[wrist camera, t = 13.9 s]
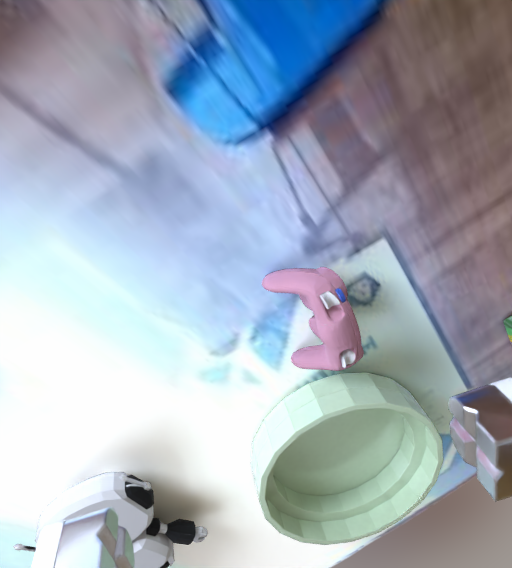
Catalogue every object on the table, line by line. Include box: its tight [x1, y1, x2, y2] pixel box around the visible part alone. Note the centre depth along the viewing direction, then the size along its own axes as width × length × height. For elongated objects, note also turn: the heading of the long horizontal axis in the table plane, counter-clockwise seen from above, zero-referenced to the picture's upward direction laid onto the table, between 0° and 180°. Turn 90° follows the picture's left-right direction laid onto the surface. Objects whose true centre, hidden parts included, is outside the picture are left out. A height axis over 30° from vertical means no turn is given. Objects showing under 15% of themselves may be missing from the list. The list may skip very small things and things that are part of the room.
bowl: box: [251, 372, 443, 545], centre depth 47 cm, size 18×18×5 cm
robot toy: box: [13, 472, 208, 568], centre depth 46 cm, size 12×4×15 cm
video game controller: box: [262, 267, 364, 371], centre depth 39 cm, size 10×5×7 cm, turn 20°
